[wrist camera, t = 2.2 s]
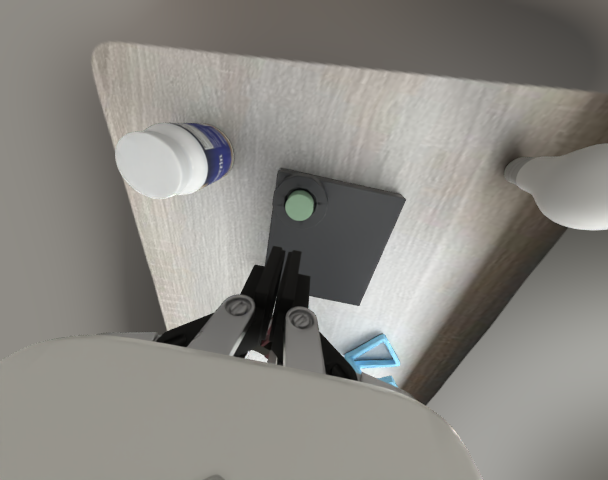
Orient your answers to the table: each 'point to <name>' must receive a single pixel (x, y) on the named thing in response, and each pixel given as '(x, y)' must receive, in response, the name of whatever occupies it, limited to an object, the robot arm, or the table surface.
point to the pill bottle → (173, 158)
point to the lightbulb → (567, 186)
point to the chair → (373, 363)
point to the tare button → (299, 205)
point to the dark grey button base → (334, 233)
